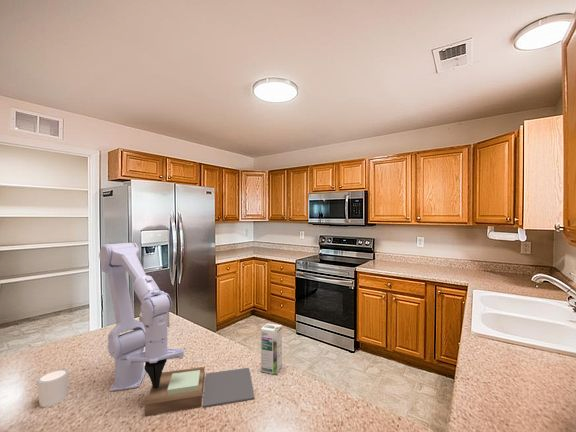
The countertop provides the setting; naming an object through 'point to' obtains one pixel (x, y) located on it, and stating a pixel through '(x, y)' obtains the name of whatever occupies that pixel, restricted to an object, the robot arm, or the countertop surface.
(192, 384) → the coaster
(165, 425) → the countertop surface
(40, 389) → the white cylinder
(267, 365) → the syrup box
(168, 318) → the lumpy-topped squat cylinder
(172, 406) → the walnut board
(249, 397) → the rubber mat
